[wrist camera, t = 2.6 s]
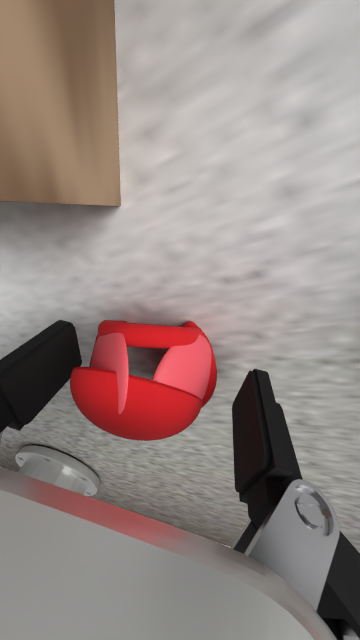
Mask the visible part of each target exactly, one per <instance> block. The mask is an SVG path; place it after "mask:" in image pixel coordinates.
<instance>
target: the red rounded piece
mask: <svg viewBox="0 0 360 640" xmlns="http://www.w3.org/2000/svg"><path fill="white" fill-rule="evenodd" d="M126 346H132V347H145V348H169V350H168V351H167V352H166V354H165V355H164V357H163V358H162V360H161V362H160V364H159V365H158V367H157V370H156V372H155V374H154V377H153V380H149V379H145V378H141V377H137V376H133V375H129V374H128V354H127V347H126ZM216 381H217V370H216V363H215V358H214V354H213V350H212V347H211V344H210V342H209V340H208V338H207V337H206V335H205V334H204V333H203V332H202V330H201V329H200V328H199V327H198V326H197V325H196V324H195V323H194V322H191V321H189V322H186V323H185V324H184V326H183V327H175V326H161V325H148V324H136V323H127V322H126V321H112V320H105V321H102V322H101V323H100V325H99V327H98V335H97V337H96V342H95V346H94V349H93V353H92V357H91V361H90V367H74V368H73V370H72V374H71V379H70V388H71V393H72V397H73V399H74V401H75V403H76V405H77V407H78V408H79V410H80V411H81V412H82V414H83V415H84V416H85V417H86V418H87V419H88V420H89V421H91V422H92V423H93V424H95V425H96V426H97V427H99V428H101V429H103V430H104V431H106V432H108V433H111V434H113V435H116V436H119V437H123V438H127V439H132V440H144V441H147V440H158V439H163V438H167V437H170V436H173V435H175V434H178V433H179V432H181V431H183V430H184V429H186V428H187V427H188V426H189V425H191V424H192V422H193V421H194V420H195V419H196V417H197V416H198V414H199V412H200V409H201V408H202V407H203V406H204V405H205V404H206V403H207V402H208V401H209V399H210V398H211V396H212V395H213V392H214V390H215V386H216Z"/></svg>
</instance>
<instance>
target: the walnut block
mask: <svg viewBox="0 0 360 640" xmlns="http://www.w3.org/2000/svg"><path fill="white" fill-rule="evenodd" d="M0 201H15V202H38V203H61V204H84V205H106V206H121V197H120V166H119V135H118V104H117V73H116V41H115V10H114V0H0Z"/></svg>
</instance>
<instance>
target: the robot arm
mask: <svg viewBox="0 0 360 640" xmlns="http://www.w3.org/2000/svg"><path fill="white" fill-rule="evenodd" d="M81 364H82V360H81V355H80V350H79V345H78V340H77V335H76V330H75V327H74V326H73V324H72V323H70V322H66V321H62V320H59V321H57V322H55V323H54V324H52V325H51V326H49V327H48V328H46V329H45V330H43V331H42V332H41V333H39V334H38V335H36V336H35V337H33V338H32V339H30V340H29V341H27V342H26V343H24V344H23V345H21V346H20V347H19V348H17V349H16V350H14V351H13V352H11V353H10V354H8V355H7V356H5V357H4V358H2V359H1V360H0V442H1V438H2V433H3V430H4V429H5V428H6V427H7V426H9V427H10V428H13V429H16V430H19V431H20V430H21V428H22V427H23V426H24V425H26V424H28V423H30V422H31V421H32V420H33V419H34V418H35V416H36V415H37V414H38V413H39V412H40V411H41V410H42V409H43V408H44V406H45V405H46V404H47V403H48V402H49V401H50V400H51V399H52V398H53V397H54V395H55V394H56V393H57V392H58V391H59V390H60V389H61V388H62V387H63V385H64V384H65V383H66V382H67V381H68V380H69V379H70V378H71V374H72V370H73V368H74V367H80V366H81ZM232 419H233V447H234V474H235V489H236V491H237V492H239V497H240V501H241V502H244V503H247V504H248V515H249V517H250V519H249V521H248V522H247V524H246V525H245V527H244V528H243V530H242V531H241V533H240V534H239V536H238V537H237V539H236V541H235V542H234V544H233V545H232V547H231V548H229V547H226V546H224V545H222V544H219V543H216V542H214V541H211V540H208V539H206V538H203V537H200V536H198V535H195V534H192V533H190V532H187V531H184V530H182V529H179V528H176V527H173V526H171V525H168V524H165V523H162V522H159V521H156V520H153V519H151V518H148V517H145V516H142V515H139V514H136V513H134V512H131V511H128V510H125V509H122V508H119V507H116V506H114V505H111V504H108V503H105V502H102V501H99V500H96V499H93V498H90V497H88V496H92V495H94V494H96V492H97V490H98V488H99V486H100V481H99V478H98V477H97V475H96V474H95V473H94V472H93V471H92V470H91V469H89V468H88V467H87V466H85V465H84V464H83V463H81V462H79V461H78V460H76V459H74V458H72V457H70V456H68V455H66V454H64V453H61V452H59V451H56V450H53V449H50V448H46V447H42V446H36V445H29V446H25V447H23V448H21V450H20V451H19V452H18V453H17V454H16V457H15V460H16V462H17V464H18V465H19V466H20V467H21V468H20V469H19V470H18V472H15V471H12V470H9V469H6V468H3V467H0V640H360V553H359V552H358V551H357V550H356V549H355V548H354V546H353V545H352V544H351V543H350V542H349V541H348V540H347V538H346V537H345V536H344V535H343V534H342V533H341V532H340V527H339V522H338V518H337V515H336V513H335V511H334V508H333V507H332V505H331V503H330V502H329V500H328V499H327V498H326V496H325V495H324V494H323V493H322V492H321V491H320V490H319V489H318V488H317V487H316V486H314V485H313V484H311V483H310V482H308V481H306V480H302V476H301V473H300V469H299V466H298V462H297V459H296V455H295V452H294V448H293V445H292V441H291V438H290V434H289V431H288V427H287V424H286V420H285V417H284V413H283V410H282V407H281V406H280V404H278V403H276V402H275V398H274V394H273V390H272V386H271V382H270V379H269V375H268V373H267V372H265V371H261V370H257V369H254V370H253V371H249V373H248V375H247V377H246V379H245V381H244V382H243V384H242V386H241V388H240V390H239V392H238V394H237V396H236V398H235V400H234V402H233V406H232Z"/></svg>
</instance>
